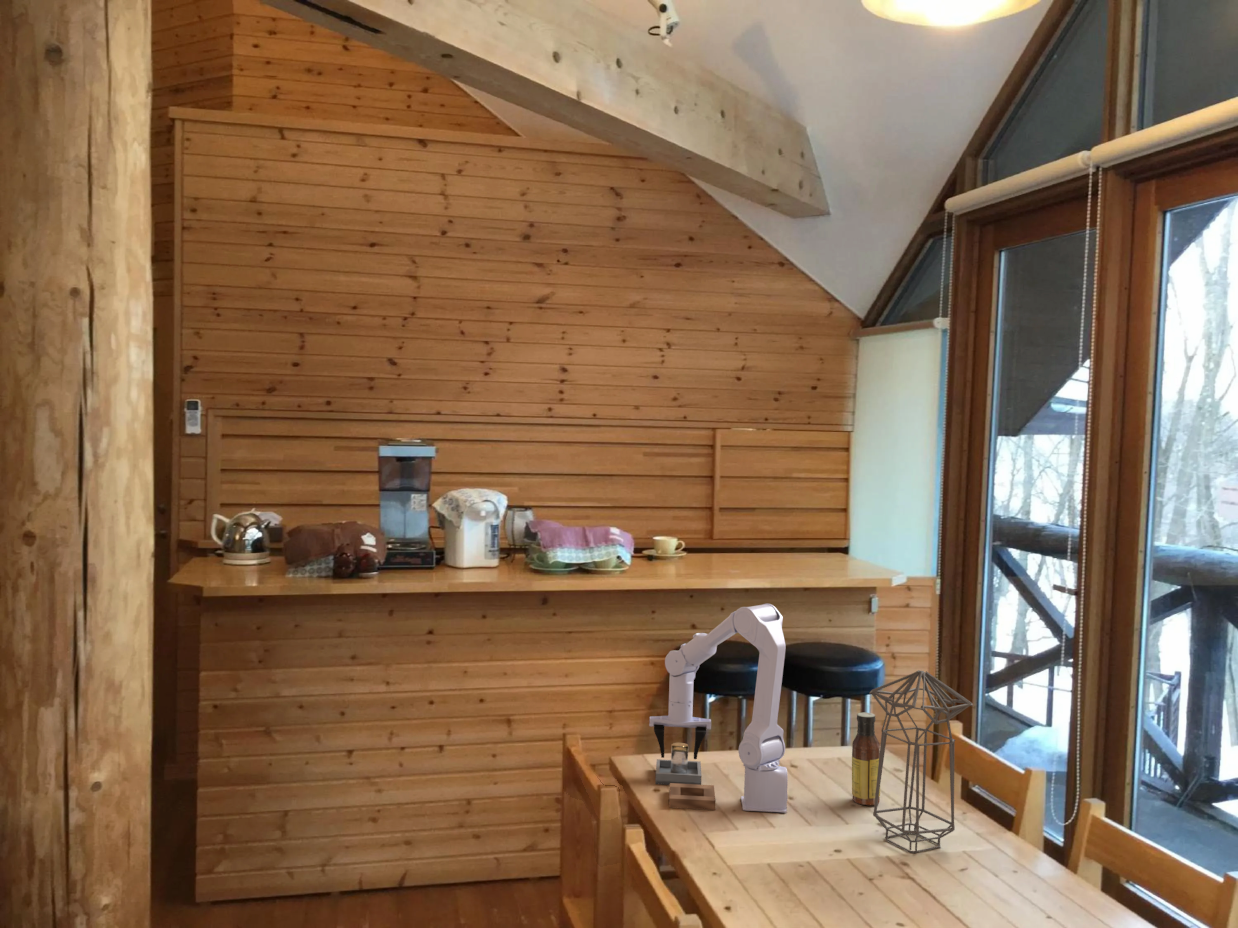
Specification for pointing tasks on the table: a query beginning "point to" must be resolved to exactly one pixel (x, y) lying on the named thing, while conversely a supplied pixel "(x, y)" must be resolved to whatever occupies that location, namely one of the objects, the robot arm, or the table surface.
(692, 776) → the tray
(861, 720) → the sauce bottle
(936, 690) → the geometric lantern
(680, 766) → the gold and silver cylinder
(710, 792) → the block
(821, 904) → the table surface
